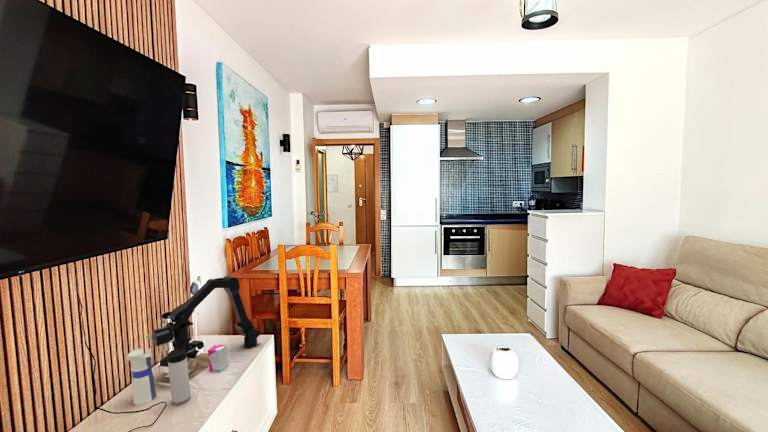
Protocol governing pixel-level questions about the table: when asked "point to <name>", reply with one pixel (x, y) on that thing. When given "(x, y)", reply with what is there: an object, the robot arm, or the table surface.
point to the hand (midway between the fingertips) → (184, 371)
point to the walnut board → (200, 364)
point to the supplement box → (218, 358)
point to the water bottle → (142, 376)
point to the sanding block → (191, 365)
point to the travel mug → (179, 376)
